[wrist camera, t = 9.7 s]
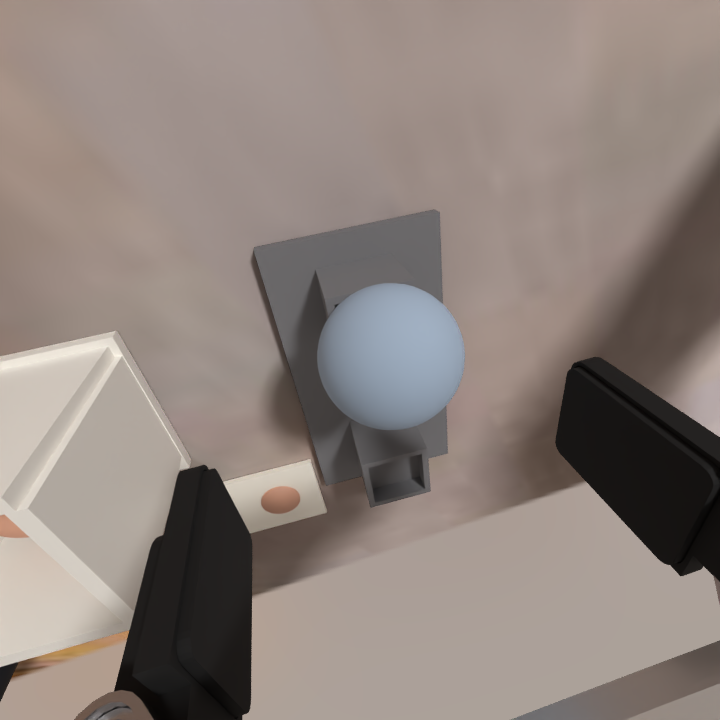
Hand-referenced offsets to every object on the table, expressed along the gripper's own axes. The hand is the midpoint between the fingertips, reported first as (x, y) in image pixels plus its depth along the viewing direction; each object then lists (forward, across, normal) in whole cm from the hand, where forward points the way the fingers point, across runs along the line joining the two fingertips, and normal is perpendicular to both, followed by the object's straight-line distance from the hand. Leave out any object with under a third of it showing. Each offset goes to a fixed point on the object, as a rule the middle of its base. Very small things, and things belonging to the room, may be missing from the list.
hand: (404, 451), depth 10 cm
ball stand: (+10, -1, +4) cm, 11 cm away
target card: (+10, +8, +12) cm, 18 cm away
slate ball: (+6, -1, 0) cm, 7 cm away
